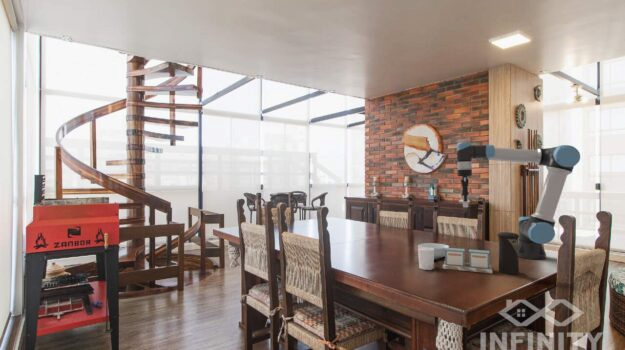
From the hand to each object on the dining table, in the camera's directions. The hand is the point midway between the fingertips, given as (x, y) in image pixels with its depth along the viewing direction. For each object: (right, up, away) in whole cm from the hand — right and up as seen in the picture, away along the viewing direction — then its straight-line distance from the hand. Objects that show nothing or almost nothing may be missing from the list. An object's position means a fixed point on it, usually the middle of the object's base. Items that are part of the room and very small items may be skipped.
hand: (465, 206), depth 199 cm
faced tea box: (-6, -29, -28) cm, 41 cm away
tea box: (-16, -29, -24) cm, 40 cm away
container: (+6, -30, -34) cm, 45 cm away
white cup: (-30, -30, -22) cm, 47 cm away
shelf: (-11, -30, -26) cm, 41 cm away
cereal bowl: (-18, -30, +2) cm, 35 cm away
